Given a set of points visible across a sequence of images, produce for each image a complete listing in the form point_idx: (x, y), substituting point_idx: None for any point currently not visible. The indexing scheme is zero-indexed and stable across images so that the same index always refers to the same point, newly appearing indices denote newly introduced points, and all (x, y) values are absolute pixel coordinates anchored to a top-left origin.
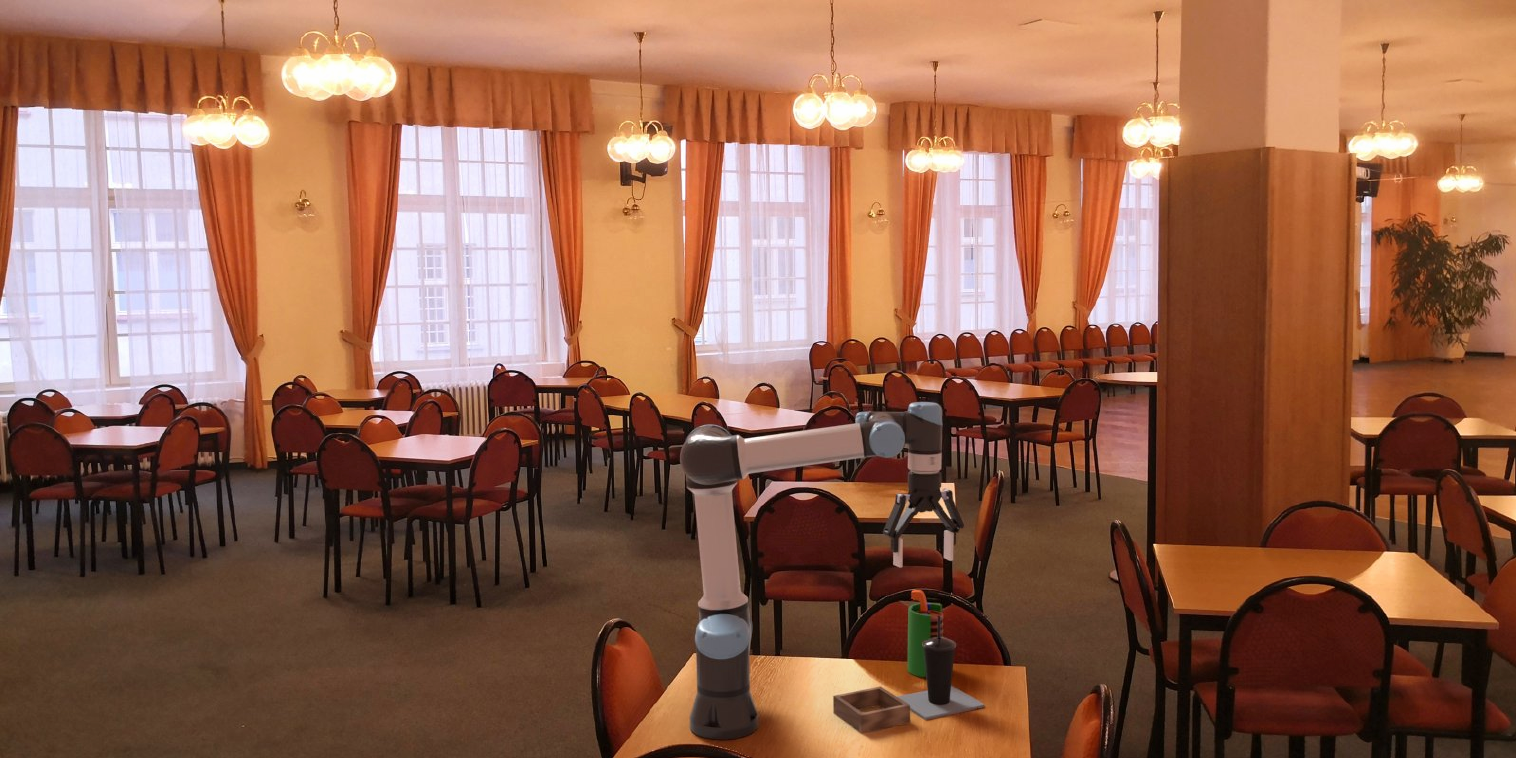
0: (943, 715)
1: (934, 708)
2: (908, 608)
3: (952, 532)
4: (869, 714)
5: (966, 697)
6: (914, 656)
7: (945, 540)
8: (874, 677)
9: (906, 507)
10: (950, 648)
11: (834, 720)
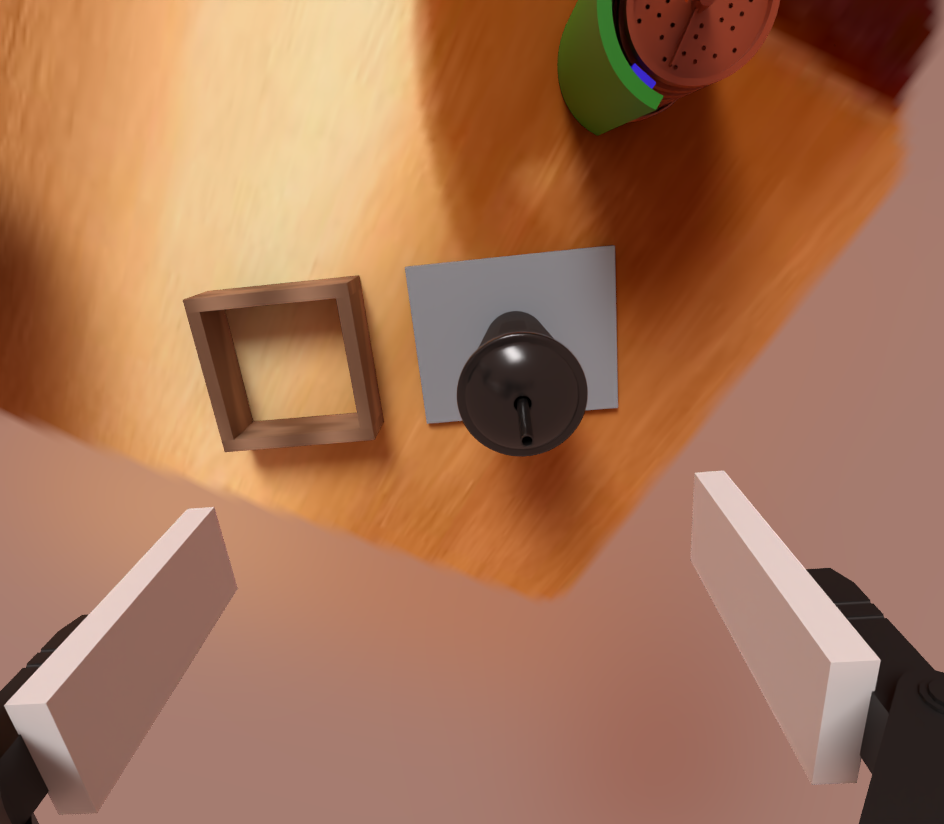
0: None
1: None
2: None
3: (853, 770)
4: (250, 449)
5: (600, 348)
6: (570, 78)
7: (765, 599)
8: (423, 52)
9: None
10: (534, 454)
11: None
